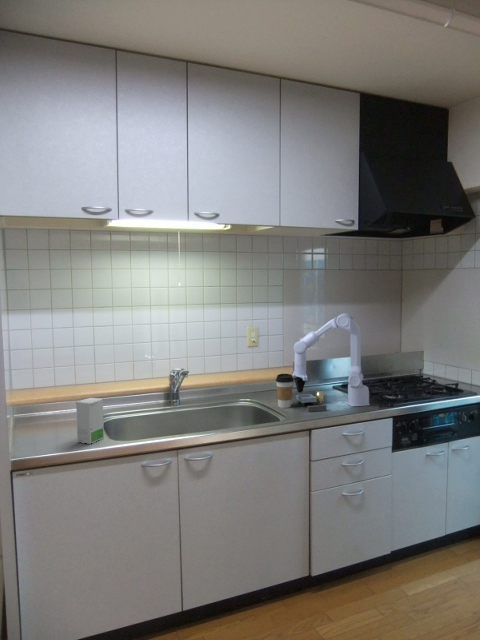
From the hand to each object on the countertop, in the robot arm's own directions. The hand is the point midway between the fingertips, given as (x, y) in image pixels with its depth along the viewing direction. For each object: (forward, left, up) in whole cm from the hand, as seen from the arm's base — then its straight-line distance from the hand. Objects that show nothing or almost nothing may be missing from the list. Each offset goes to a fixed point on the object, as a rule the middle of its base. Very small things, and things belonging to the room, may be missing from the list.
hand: (300, 392), depth 240 cm
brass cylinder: (-7, +8, -4) cm, 11 cm away
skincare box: (+98, +34, -4) cm, 104 cm away
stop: (0, +21, -4) cm, 21 cm away
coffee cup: (+11, +9, -4) cm, 15 cm away
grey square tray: (0, +8, -4) cm, 9 cm away
